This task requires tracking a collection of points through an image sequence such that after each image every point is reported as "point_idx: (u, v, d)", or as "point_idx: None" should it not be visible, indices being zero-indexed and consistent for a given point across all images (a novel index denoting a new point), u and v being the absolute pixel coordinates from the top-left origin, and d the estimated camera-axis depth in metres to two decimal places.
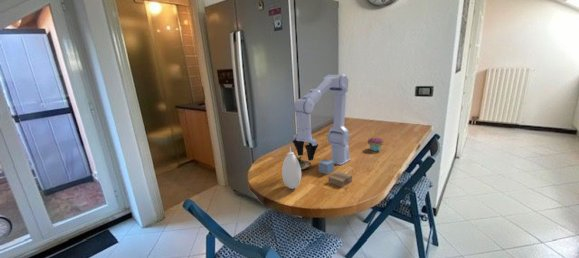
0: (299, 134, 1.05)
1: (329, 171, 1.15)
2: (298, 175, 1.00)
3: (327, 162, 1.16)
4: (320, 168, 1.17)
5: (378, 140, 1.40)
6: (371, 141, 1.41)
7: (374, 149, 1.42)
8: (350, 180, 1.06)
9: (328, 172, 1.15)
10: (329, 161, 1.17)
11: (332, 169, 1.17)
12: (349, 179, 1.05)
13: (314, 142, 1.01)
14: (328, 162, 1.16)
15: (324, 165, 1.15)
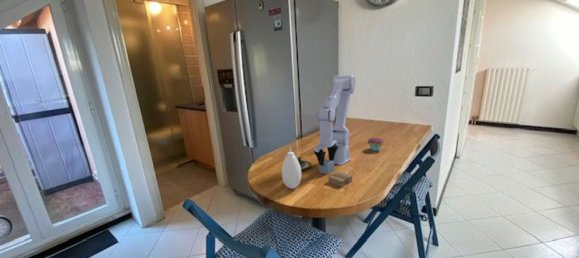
0: None
1: (329, 171, 1.15)
2: (298, 175, 1.00)
3: (327, 162, 1.16)
4: (320, 168, 1.17)
5: (378, 140, 1.40)
6: (371, 141, 1.41)
7: (374, 149, 1.42)
8: (350, 180, 1.06)
9: (328, 172, 1.15)
10: (329, 161, 1.17)
11: (332, 169, 1.17)
12: (349, 179, 1.05)
13: (315, 148, 1.10)
14: (328, 162, 1.16)
15: (324, 165, 1.15)
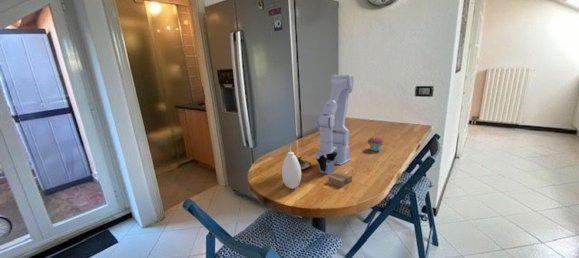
0: None
1: (329, 171, 1.15)
2: (298, 175, 1.00)
3: (327, 162, 1.16)
4: None
5: (378, 140, 1.40)
6: (371, 141, 1.41)
7: (374, 149, 1.42)
8: (350, 180, 1.06)
9: (328, 172, 1.15)
10: (329, 161, 1.17)
11: (332, 168, 1.17)
12: (349, 179, 1.05)
13: (315, 155, 1.11)
14: (328, 162, 1.16)
15: None
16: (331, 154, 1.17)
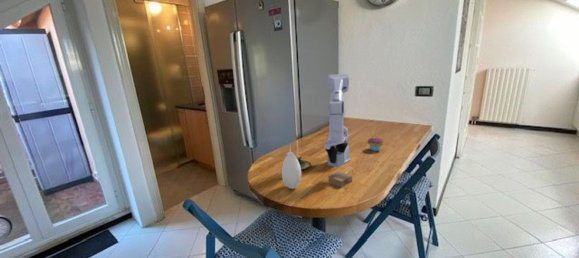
0: None
1: (339, 163, 1.05)
2: (298, 175, 1.00)
3: (337, 154, 1.06)
4: (328, 160, 1.07)
5: (378, 140, 1.40)
6: (371, 141, 1.41)
7: (374, 149, 1.42)
8: (350, 180, 1.06)
9: (338, 164, 1.05)
10: (339, 153, 1.07)
11: (342, 161, 1.07)
12: (349, 179, 1.05)
13: (325, 145, 1.01)
14: (338, 153, 1.06)
15: None
16: (341, 145, 1.07)
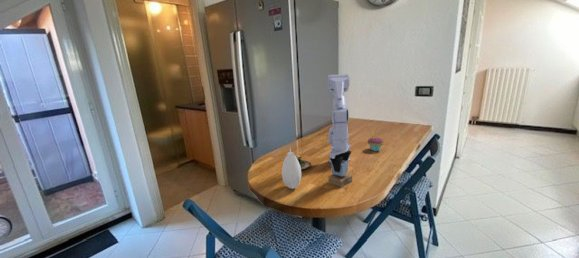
0: None
1: (343, 172, 1.03)
2: (298, 175, 1.00)
3: (341, 162, 1.04)
4: (332, 169, 1.05)
5: (378, 140, 1.40)
6: (371, 141, 1.41)
7: (374, 149, 1.42)
8: (350, 180, 1.06)
9: (342, 173, 1.03)
10: (342, 161, 1.05)
11: (346, 169, 1.05)
12: (349, 179, 1.05)
13: (330, 154, 0.98)
14: (342, 162, 1.04)
15: None
16: (345, 153, 1.05)
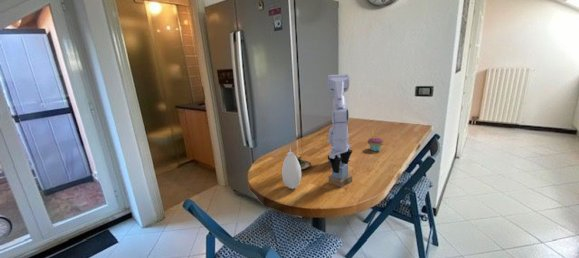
0: None
1: (343, 175, 1.04)
2: (298, 175, 1.00)
3: (341, 166, 1.04)
4: (332, 172, 1.05)
5: (378, 140, 1.40)
6: (371, 141, 1.41)
7: (374, 149, 1.42)
8: (350, 181, 1.06)
9: (343, 177, 1.03)
10: (343, 164, 1.06)
11: (346, 173, 1.05)
12: (349, 179, 1.05)
13: (330, 154, 0.98)
14: (342, 165, 1.04)
15: None
16: (346, 152, 1.06)
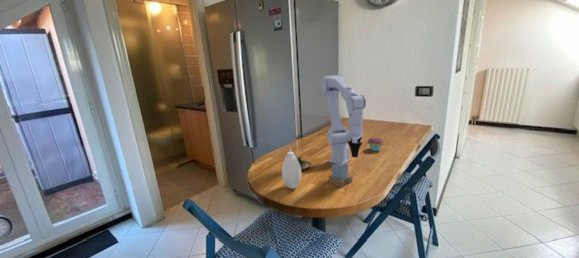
0: None
1: (343, 176, 1.04)
2: (298, 175, 1.00)
3: (341, 166, 1.04)
4: (333, 172, 1.05)
5: (378, 140, 1.40)
6: (371, 141, 1.41)
7: (374, 149, 1.42)
8: (350, 181, 1.06)
9: (343, 177, 1.03)
10: (343, 164, 1.06)
11: (346, 173, 1.05)
12: (349, 180, 1.05)
13: (353, 139, 1.02)
14: (342, 165, 1.04)
15: (338, 169, 1.03)
16: None
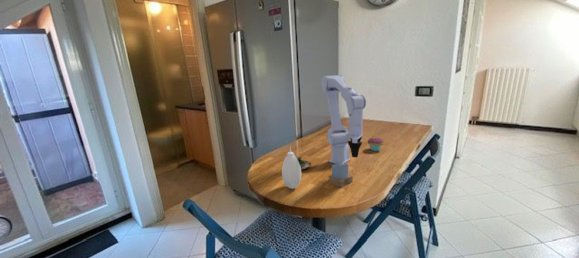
0: None
1: (343, 176, 1.04)
2: (298, 175, 1.00)
3: (341, 166, 1.04)
4: (333, 172, 1.05)
5: (378, 140, 1.40)
6: (371, 141, 1.41)
7: (374, 149, 1.42)
8: (350, 181, 1.05)
9: (343, 177, 1.03)
10: (343, 164, 1.05)
11: (346, 173, 1.05)
12: (349, 180, 1.05)
13: (353, 139, 1.02)
14: (342, 165, 1.04)
15: (338, 169, 1.03)
16: None
